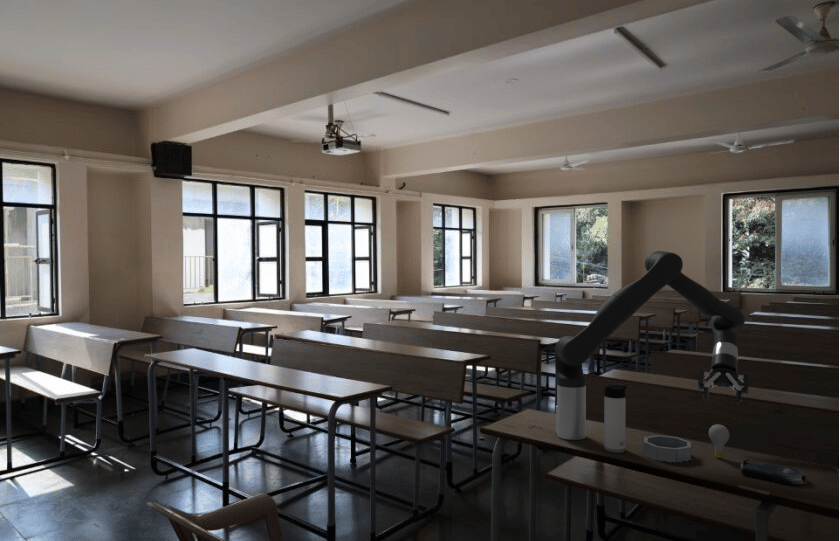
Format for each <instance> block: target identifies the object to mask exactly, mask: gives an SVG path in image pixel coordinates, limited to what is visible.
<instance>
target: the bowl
mask: <svg viewBox="0 0 840 541" xmlns="http://www.w3.org/2000/svg"><path fill="white" fill-rule="evenodd" d="M643 439H644V440H643V456H644V457H647V458H649V457H650V459H652V460H654V459H655V460H654V461H656V460H657V462H664V461H666V462H665V463H672V462H675V463H674V464H679V463H678V462H680V463H683V462H682V461H686V462H689V461H688V460H691V461H692V445H691V444H692V443H691V441H689V440H686V439H683V438H681V437H677V436H672V435H671V436H669V435H660V434H659V435H658V434H657V435H649V436H644V438H643ZM676 462H677V463H676Z"/></svg>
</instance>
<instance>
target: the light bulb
mask: <svg viewBox="0 0 840 541" xmlns="http://www.w3.org/2000/svg"><path fill="white" fill-rule="evenodd" d="M708 436H709V439H710V441H711V442H712V444H713V445H714V446H713V447H714V457H715V458H717V459H719V458H720V459H722V458H724V454H723V453H724V447H725V445H726V444H727V442H728V441H729V438H730V431H729V430H728V428H727V427H726V426H724V425H722V424H719V423H717V424H713V425H711V427H709V430H708Z"/></svg>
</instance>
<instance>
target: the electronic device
mask: <svg viewBox="0 0 840 541" xmlns="http://www.w3.org/2000/svg"><path fill="white" fill-rule="evenodd" d="M739 471H740V472H741V475H743V476H750V477H752V478H753V477H754V478H757V477H758V478H759V479H762V480H770V481H771V482H772V481H773V482H776V483H778V484H779V483H780V484H784V485H791V486H800V485H804V484H805V485H807V476H806V474H805V473H803V472H802V471H800V470H799V469H796V468H792V467H790V466H789V467H788V466H784V465H783V466H782V465H778V464H772V463H766V462H765V463H764V462H760V461H752V460H750V459H748V457H747V458H744V459H743V460H742V461H741V464H740V470H739ZM758 478H757V479H758Z"/></svg>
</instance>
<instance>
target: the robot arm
mask: <svg viewBox="0 0 840 541" xmlns="http://www.w3.org/2000/svg"><path fill="white" fill-rule="evenodd" d="M683 266H684V263H683V259H682V257H681V255H678V254H677V253H674V252H670V251H663V250H657V251H653V252H650V253H649V255H647V256H646V258H645V260H644V267H645V271H646V273H644V274H643V275H642V276H641V277H640V278H638V279H636V280H634V281H633V282H631V283H629V284H627V285H625V286H623V287H621V288H619V289H618V290H616V291H615V292H614V293H613V294H612V295H610V296H609V297H608V298H607V299H606V300H605V301H604V302H603V303H602V304H601V305H600V306H599V308H598V309H597V311H596V313H595V315H594V316H593V317H592V319H591V321H590V322H589V323H588V325H587V326H586V327H584V328H583V329H582V330H581V331H579V333H577V334H576V335H574V336H572V335H566V336H562V337H560V339H558V340H557V342H556V345H555V347H554V348H555V349H554V364H555V365H554V366H555V367H554V368H555V370H554V371H555V376H556V383H557V386H556V390H557V391H556V392H557V393H556V394H557V395H556V396H557V397H556V400H557V401H556V404H557V405H556V406H555V434H556V433H557V434H556V435H557V436H556V437H558V438H560V439H563V440H569V441H579V440H584V439H586V430H587V428H586V427H587V424H586V423H587V422H586V421H587V420H586V418H587V417H586V413H587V404H586V403H587V402H586V401H587V399H586V398H587V395H586V394H587V390H586V389H587V386H586V384H587V382H586V381H587V380H586V376H585V374H584V370H583V364H584V363H586V361H587V360H589V359H590V357H591V356H593V354H594V352H595V351H596V350H597V349H598V348H599V347H600V346H601V344H602V343H604V341H606V340H607V338H608V337H610V336H611V335H612V334H613V333H615V331H617V330H618V329H619V328H620V327H621V326H622V325H624V324H625V323H626V322H627V321H628V320H630V318H631V317H632V316H633V315H634V314H635V313H636V312H637V311H638V310H640V309H641V307H643V306H644V305H645V304H646V303H647V302H648V301H649V300H650V299H651V298H652V297H653V296H654V295H656V294H657V293H658V292H659V291H661V290H662V289H664V287H665V286H668V287H669V288H671V289H673V290H674V291H675V292H676V293H678V294H679V295H681V297H683V298H684V299H686V301H688V302H689V303H690V304H691V305H692V306H694V307H695V309H697V310H698V311H700V312H701V313H702V314H703V315H704V316H706V317H711V319H710V325H711V326H710V327H711V329H712V333H713V334H712V335H713V337H714V340H713V341H714V344H713V349H712V354H711V355H712V358H711V366H710V371H709V372H708V371H705V370H703V369H700V371H699V376H698V380H697V381H698V382H697V387H698V390H702V391H703V394H702V397H703V400H705V402H709V398H710V396H709V395H710V390H711V389H714V388H715V387H716V386H717V387H725V388H731V389H732V390H733V391H735V392H736V393H735V404H736V405H740V403H742V396H743V394H746V395H747V394H749V376H748V374H747V373H744V374H738V365H739V364H738V361H739V352H738V347H739V346H738V344H739V337H738V335H737V334H736V333H735V332H734V330H737V329H740V328H741V327H742V326H744V324H745V323H746V319H745V318H746V317H745V315H744V313H743V312H742V311H741V310H740V309H739V308H737V307H736V306H734V305H732V304H729V303H728V302H726V301H723V300H721V299H719V298H718V297H717V296H716V295H715V294H713V292H711V291H710V290H709V289H707V288H706V287H704V286H703V285H701V284H700V283H698V282H697V281H695V280H693V279H691V278H690V277H688V276H687V275H686V274H684V273H683V272H682V270H683ZM708 377H709V379H708V381H707V382H706V383H704V382H705V380H706V379H707V378H708ZM739 380H740V382H741V383H743V386H742V387H741V386H740V385H739V383H738V382H737V381H739Z"/></svg>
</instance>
